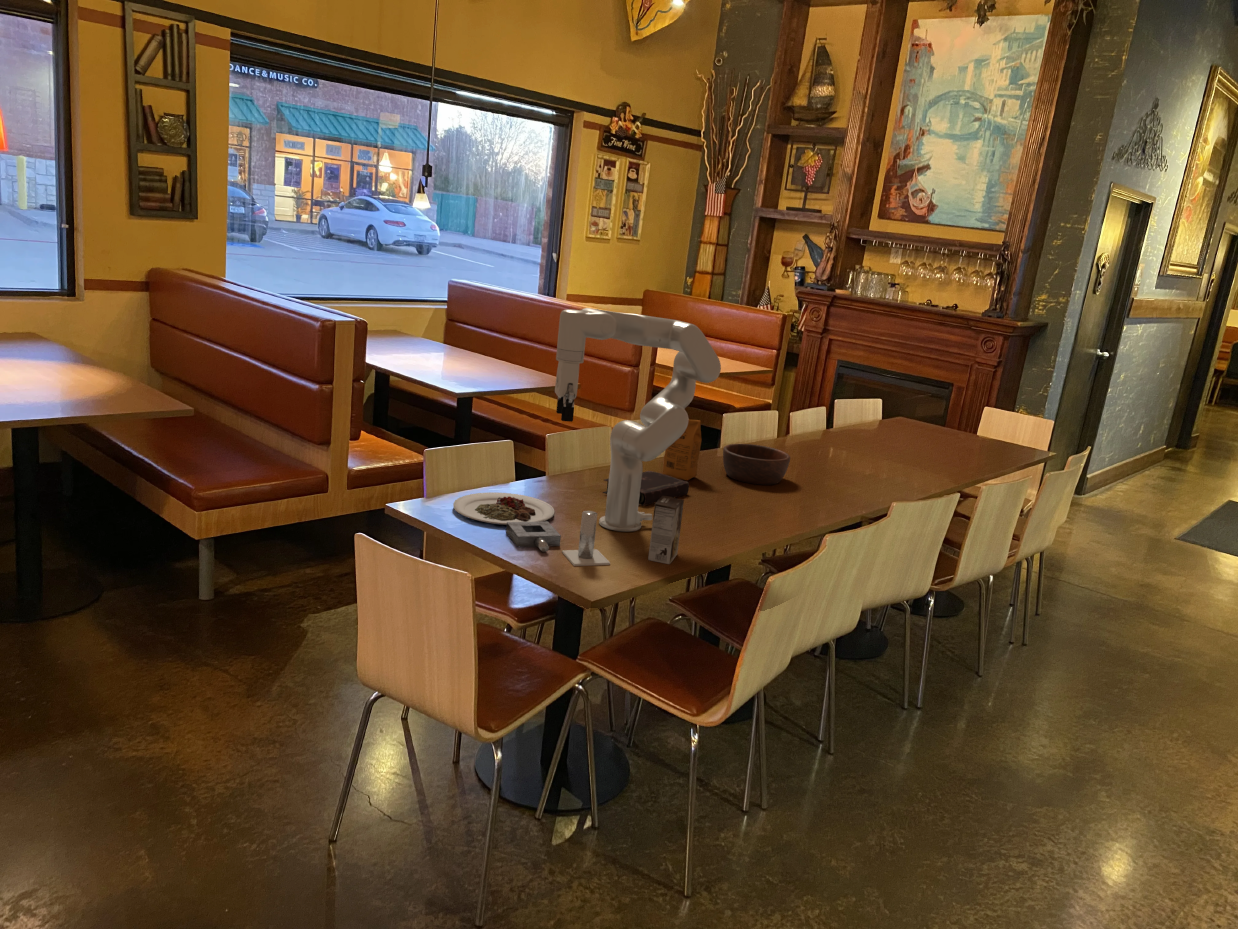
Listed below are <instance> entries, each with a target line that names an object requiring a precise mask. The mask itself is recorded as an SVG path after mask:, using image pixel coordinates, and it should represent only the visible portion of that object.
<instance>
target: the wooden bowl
mask: <svg viewBox="0 0 1238 929" xmlns="http://www.w3.org/2000/svg"><path fill="white" fill-rule="evenodd" d="M722 460H723V461H722V462H723V469H724V471H725V473H726V475H727V476H728V477H729V478H731V479H733V480H736V481H739V482H742V483H746V484H751V485H752V484H753V485H761V486H765V485H766V486H770V485H771V486H772V485H776V484H778V483H780V482H781V481H782V480H783V479H784V477H785V476H786V473H787V471H788V468H789V464H790V460H791V455H790V454H789V453H787V452H786V451H783V450H781V449H778V448H774V447H770V446H766V445H759V444H752V443H731V444H727V445H725V446H723V450H722Z"/></svg>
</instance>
